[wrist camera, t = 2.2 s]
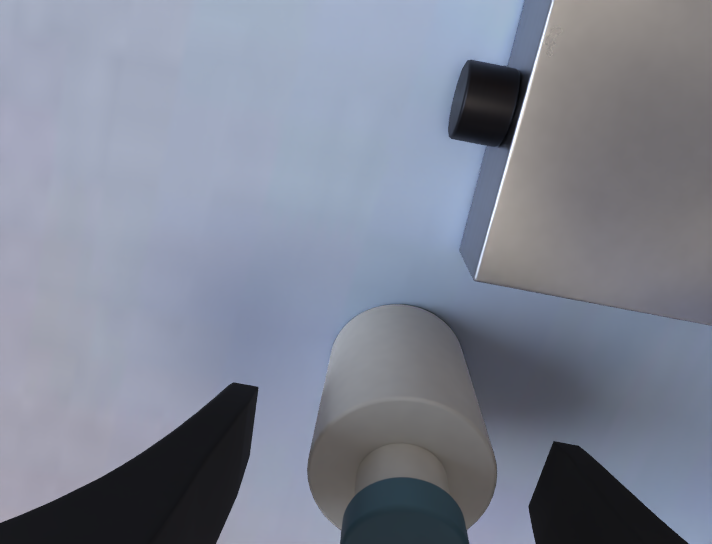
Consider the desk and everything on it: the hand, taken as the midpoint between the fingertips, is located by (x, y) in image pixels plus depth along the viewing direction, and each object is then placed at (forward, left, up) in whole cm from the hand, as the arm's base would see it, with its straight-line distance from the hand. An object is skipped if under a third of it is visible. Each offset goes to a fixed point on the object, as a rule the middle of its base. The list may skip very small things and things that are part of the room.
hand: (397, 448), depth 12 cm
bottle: (0, 0, -4) cm, 4 cm away
